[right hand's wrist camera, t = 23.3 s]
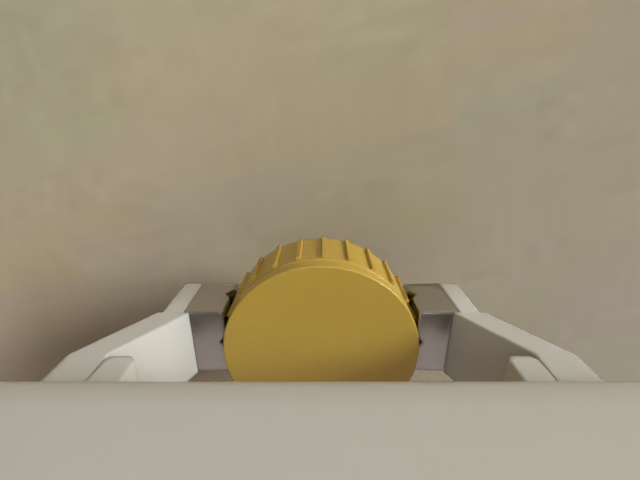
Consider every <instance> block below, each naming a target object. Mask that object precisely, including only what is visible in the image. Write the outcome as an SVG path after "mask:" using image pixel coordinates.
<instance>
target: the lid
mask: <svg viewBox="0 0 640 480" xmlns="http://www.w3.org/2000/svg"><path fill="white" fill-rule="evenodd" d="M227 317H229V319H228V322H227V325H226V328H225V332H224V339H223V352H224V358H225V363H226V366H227V369H228V371H229V374H230V376H231V378H232V379H233V381H409V380H410V379H411V377H412V375H413V372H414V370H415V367H416V364H417V360H418V355H419V336H418V331H417V327H416V324H415V321H416V318H415V316H414V313H413V311H412V309H411V306H410V304H409V300H408V297H407V295H406V293H405V291H404V289H403V286H402V284H401V282H400V280H399V278H398V276H397V277H394V275H393V274H392V272H391V271H390V269H389V267H388V264H387V262H386V261H385V260H384V261H383V262H382V261H381V260H380V259H379V258H377V257H376V256H375V255H373V254H372V253H371V251H370V249H368V248H366V249H363V248H361V247H359V246H357V245H354V244H351V243H349V240H346V239H345V241H340V240H335V239H326V236H322V239H308V240H303V238H301V239H299V240H298V242H294V243H291V244H288V245H286V246H283V247H281V245H280V246H278V247H277V249H276V250H275V251H274V252H272V253H270V254H269V255H267V256H266V257H265V258H263V257H261V258H260V259H259V261H258V263H257V265H256V266H255V267H254V269H253V270H252V271H251V273H248V272H247V274H246V275H245V277H244V280H243V282H242V284H241V286H240V288H239V290H238V292H237V294H236V296H235V299H234V301H233V303H232V305H231V307H230V309H229V312H228V314H227Z"/></svg>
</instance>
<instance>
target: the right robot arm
mask: <svg viewBox="0 0 640 480" xmlns="http://www.w3.org/2000/svg"><path fill="white" fill-rule="evenodd" d="M403 289H404V291H405V293H406V295H407V297H408V300H409V304H410V306H411V309H412V311H413V313H414V316H415V318H416V321H415V324H416V327H417V331H418V336H419V355H418V360H417V364H416V367H415V370H443V371H444V372H445V373H446V374H447V375H448V376H449V377H450V378H452V379H453V380H454V381H189V380H190V379H191V378H192V377H193V376H194V375H195V374H197V373H198V371H199V370H228V369H227V366H226V363H225V358H224V352H223V339H224V332H225V328H226V325H227V322H228V319H229V317H227V314H228V312H229V309H230V307H231V305H232V303H233V301H234V299H235V296H236V294H237V292H238V290H239V286H238V284H203V283H195V284H185V285H184V286H183V287H182V289H181V290H180V291H179V292H178V294H177V295H176V296H175V298H174V299H173V300H172V301H171V303H170V304H169V305H168V307H167V308H166V309H165V310H164V312H157V313H155V314H153V315H151V316H149V317H147V318H145V319H142V320H140V321H138V322H136V323H134V324H132V325H130V326H128V327H125V328H123V329H121V330H119V331H117V332H115V333H113V334H111V335H108V336H106V337H104V338H102V339H100V340H98V341H96V342H93V343H91V344H89V345H87V346H85V347H83V348H81V349H79V350H76V351H74V352H72V353H70V354H68V355H67V356H66V357H65V358H64V359H63V360H62V361H60V362H59V363H58V364H57V365H56V366H55V367H54V368H53V369H52V370H51V371H50V372H49V373H48V374H47V375H46V376H45V377H44V378H43V379H42V380H41V381H0V480H640V381H602V380H601V379H600V378H599V377H598V376H597V375H596V374H595V373H594V372H593V371H592V370H591V369H590V368H589V367H588V366H587V365H586V364H585V363H584V362H583V361H582V360H581V359H580V358H579V357H578V356H576V355H575V354H573V353H570V352H568V351H566V350H564V349H562V348H560V347H558V346H555V345H553V344H551V343H549V342H547V341H545V340H543V339H540V338H538V337H536V336H534V335H532V334H530V333H528V332H526V331H523V330H521V329H519V328H517V327H515V326H513V325H511V324H508V323H506V322H504V321H502V320H500V319H498V318H496V317H494V316H491V315H489V314H487V313H485V312H479V311H478V310H477V309H476V308H475V306H474V305H473V304H472V302H471V301H470V300H469V299H468V297H467V296H466V295H465V294H464V292H463V291H462V290H461V289H460V287H459V286H458V285H457V284H455V283H448V284H405V285H403Z"/></svg>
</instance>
